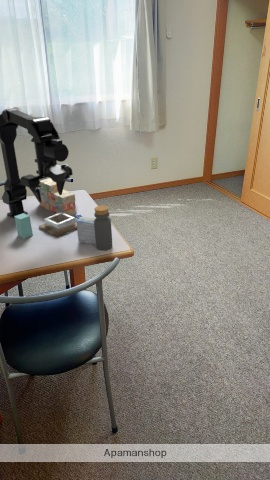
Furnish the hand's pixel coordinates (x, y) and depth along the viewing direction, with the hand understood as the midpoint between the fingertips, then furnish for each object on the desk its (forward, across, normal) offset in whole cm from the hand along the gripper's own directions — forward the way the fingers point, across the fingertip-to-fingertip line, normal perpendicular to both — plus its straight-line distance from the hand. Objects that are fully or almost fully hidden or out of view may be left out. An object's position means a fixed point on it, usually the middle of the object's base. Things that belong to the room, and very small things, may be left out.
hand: (50, 198), depth 130 cm
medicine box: (+14, +4, -15) cm, 22 cm away
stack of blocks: (+15, +15, +18) cm, 28 cm away
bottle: (+14, +4, -23) cm, 27 cm away
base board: (+14, +5, +2) cm, 15 cm away
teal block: (+14, -8, +8) cm, 18 cm away
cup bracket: (+14, +5, +2) cm, 15 cm away
